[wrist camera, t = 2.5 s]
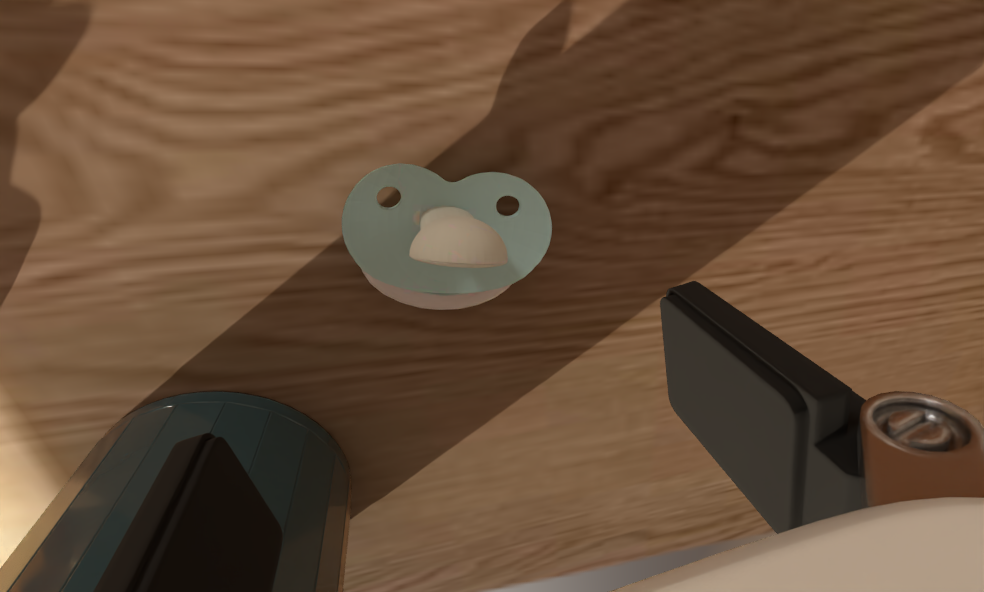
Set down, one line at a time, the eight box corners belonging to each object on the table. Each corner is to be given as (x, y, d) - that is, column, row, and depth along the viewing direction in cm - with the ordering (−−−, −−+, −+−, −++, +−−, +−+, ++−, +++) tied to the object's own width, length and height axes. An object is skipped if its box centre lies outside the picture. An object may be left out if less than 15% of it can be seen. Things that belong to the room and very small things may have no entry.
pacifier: (520, 304, 22) (543, 168, 19) (561, 393, 17) (600, 219, 14) (348, 299, 21) (347, 150, 18) (330, 394, 15) (325, 200, 12)
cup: (296, 358, 21) (230, 560, 13) (383, 530, 26) (377, 755, 18) (29, 437, 21) (-226, 703, 12) (171, 597, 26) (61, 862, 17)
